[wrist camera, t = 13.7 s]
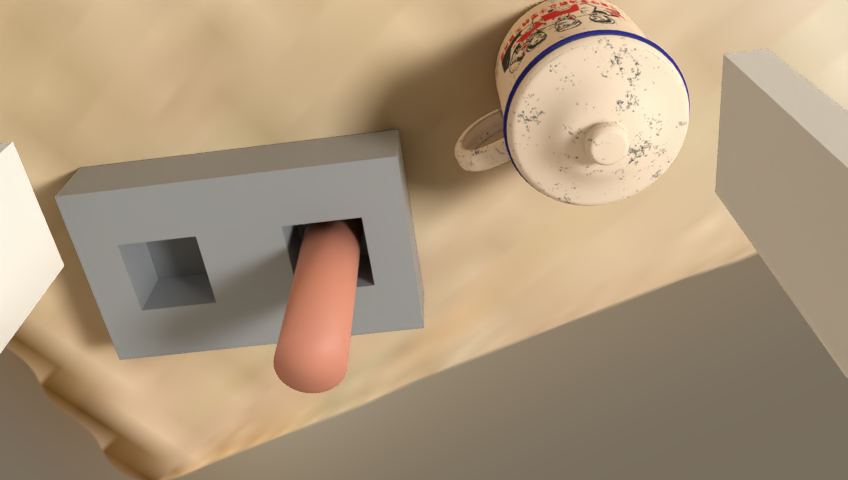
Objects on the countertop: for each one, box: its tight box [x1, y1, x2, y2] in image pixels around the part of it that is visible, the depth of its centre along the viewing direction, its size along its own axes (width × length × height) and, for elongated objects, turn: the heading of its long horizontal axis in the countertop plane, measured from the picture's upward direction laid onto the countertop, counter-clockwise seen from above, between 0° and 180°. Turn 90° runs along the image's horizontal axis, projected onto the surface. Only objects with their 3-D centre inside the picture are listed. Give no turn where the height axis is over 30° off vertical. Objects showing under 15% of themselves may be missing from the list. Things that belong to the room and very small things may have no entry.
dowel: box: [274, 218, 363, 393], centre depth 46 cm, size 4×4×14 cm
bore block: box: [54, 129, 424, 360], centre depth 50 cm, size 12×20×4 cm, turn 97°
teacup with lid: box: [455, 0, 690, 206], centre depth 42 cm, size 12×9×12 cm
